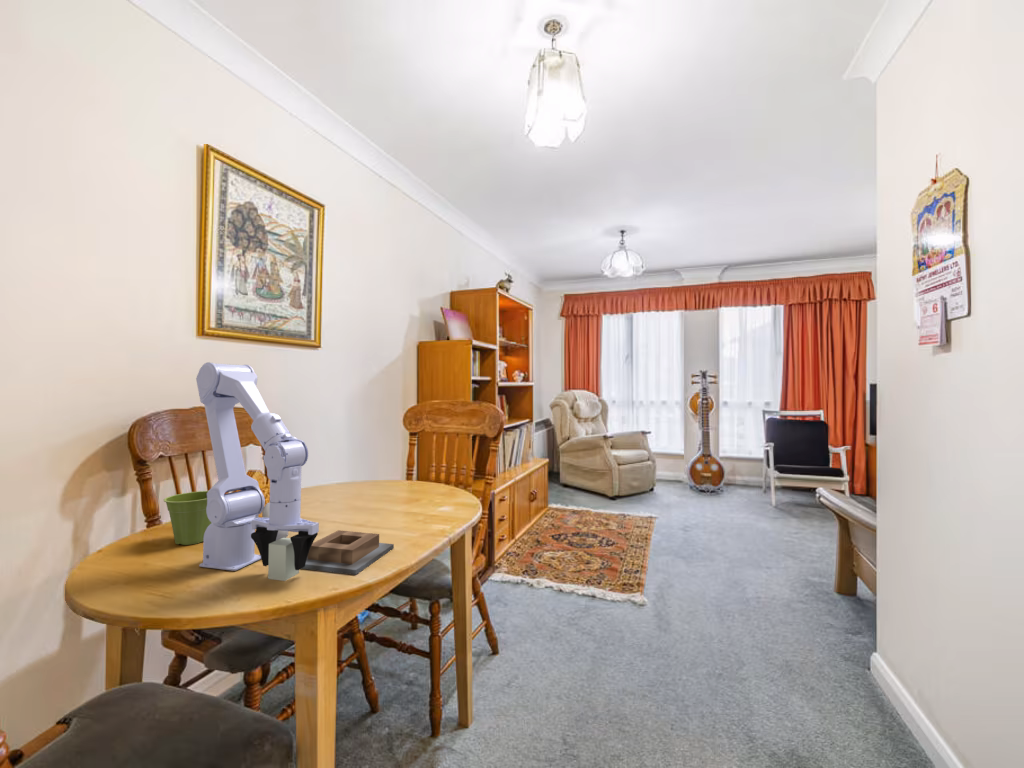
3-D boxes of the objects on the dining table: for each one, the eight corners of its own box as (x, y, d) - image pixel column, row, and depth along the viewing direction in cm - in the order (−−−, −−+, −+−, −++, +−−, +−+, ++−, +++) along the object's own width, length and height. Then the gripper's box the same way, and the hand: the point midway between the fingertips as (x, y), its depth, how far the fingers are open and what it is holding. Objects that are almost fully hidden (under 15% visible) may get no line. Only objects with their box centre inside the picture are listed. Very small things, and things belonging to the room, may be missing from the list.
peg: (268, 578, 89) (268, 543, 89) (282, 571, 92) (283, 537, 93) (285, 580, 88) (285, 545, 88) (299, 573, 92) (299, 539, 92)
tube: (293, 526, 110) (285, 503, 132) (271, 522, 108) (265, 500, 129) (286, 548, 110) (278, 521, 131) (262, 544, 107) (258, 518, 128)
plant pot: (208, 530, 118) (208, 488, 118) (229, 538, 112) (230, 494, 112) (154, 542, 108) (155, 497, 109) (174, 552, 102) (175, 504, 102)
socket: (289, 567, 94) (289, 548, 94) (335, 542, 110) (335, 526, 110) (356, 574, 91) (356, 555, 91) (393, 548, 106) (394, 531, 106)
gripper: (239, 502, 88) (238, 570, 88) (302, 507, 85) (301, 577, 85) (266, 494, 95) (265, 557, 95) (325, 498, 92) (324, 564, 91)
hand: (284, 566), depth 90 cm, fingers open, 7 cm apart
